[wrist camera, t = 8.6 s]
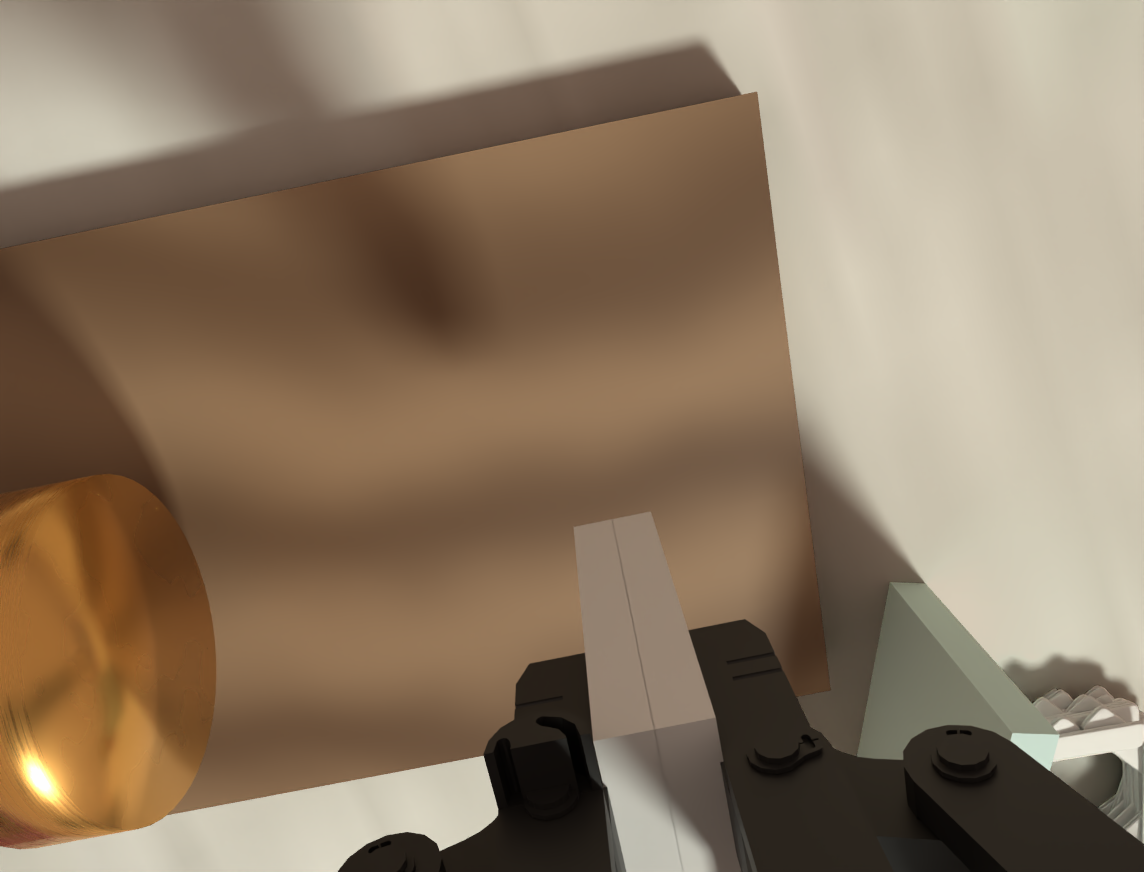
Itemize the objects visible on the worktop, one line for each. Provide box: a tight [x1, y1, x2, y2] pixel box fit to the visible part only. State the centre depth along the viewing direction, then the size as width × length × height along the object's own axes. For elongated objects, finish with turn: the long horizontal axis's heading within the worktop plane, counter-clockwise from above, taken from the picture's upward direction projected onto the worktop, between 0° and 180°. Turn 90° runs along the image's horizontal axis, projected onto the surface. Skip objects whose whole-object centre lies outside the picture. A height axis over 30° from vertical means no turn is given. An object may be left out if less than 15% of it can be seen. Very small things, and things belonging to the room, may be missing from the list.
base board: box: [0, 92, 831, 815], centre depth 24 cm, size 16×36×2 cm, turn 101°
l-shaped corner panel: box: [857, 582, 1144, 844], centre depth 25 cm, size 12×12×8 cm
